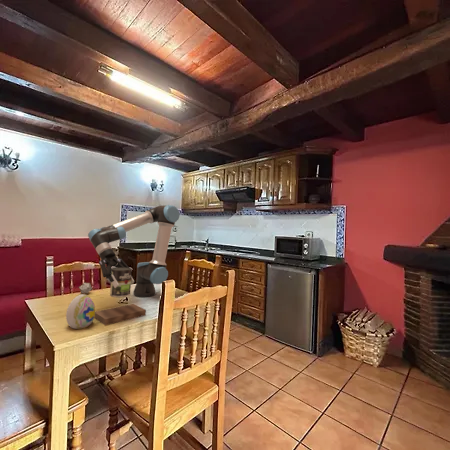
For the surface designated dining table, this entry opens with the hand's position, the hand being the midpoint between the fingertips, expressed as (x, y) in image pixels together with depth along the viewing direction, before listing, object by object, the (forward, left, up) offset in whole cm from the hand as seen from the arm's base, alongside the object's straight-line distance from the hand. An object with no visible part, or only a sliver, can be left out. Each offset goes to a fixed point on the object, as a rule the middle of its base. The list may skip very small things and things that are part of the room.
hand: (125, 284), depth 138 cm
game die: (-33, -50, -18) cm, 62 cm away
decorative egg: (+16, -13, -18) cm, 27 cm away
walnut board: (-1, -3, -18) cm, 18 cm away
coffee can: (-1, -3, -6) cm, 7 cm away
